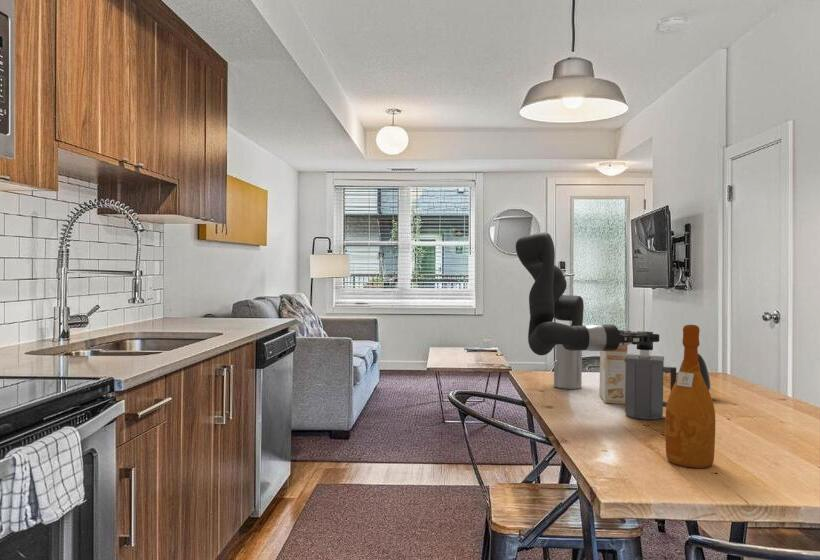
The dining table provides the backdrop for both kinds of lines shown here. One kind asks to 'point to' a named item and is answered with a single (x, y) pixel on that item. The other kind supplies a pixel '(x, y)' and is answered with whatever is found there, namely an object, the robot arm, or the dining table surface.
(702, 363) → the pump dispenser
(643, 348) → the plunger
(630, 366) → the press body
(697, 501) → the dining table surface
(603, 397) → the coffeecake box
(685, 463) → the wine bottle
